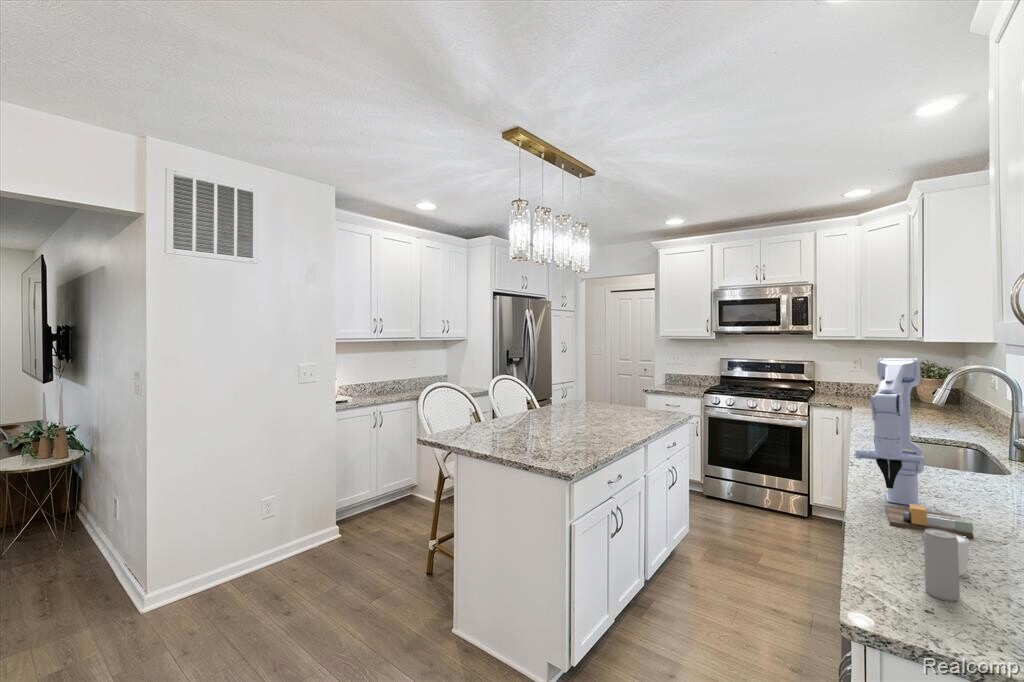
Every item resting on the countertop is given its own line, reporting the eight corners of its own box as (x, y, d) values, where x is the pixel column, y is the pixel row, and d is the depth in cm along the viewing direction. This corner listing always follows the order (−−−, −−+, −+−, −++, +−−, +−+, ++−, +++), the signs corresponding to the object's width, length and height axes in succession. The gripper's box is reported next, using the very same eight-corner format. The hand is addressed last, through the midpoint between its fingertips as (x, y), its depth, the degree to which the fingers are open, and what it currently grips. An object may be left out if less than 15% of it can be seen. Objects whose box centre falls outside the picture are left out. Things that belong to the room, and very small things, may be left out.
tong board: (885, 508, 135) (884, 497, 135) (960, 519, 126) (960, 507, 126) (889, 525, 123) (889, 512, 123) (973, 538, 113) (973, 524, 114)
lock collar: (909, 518, 124) (909, 503, 124) (924, 520, 122) (923, 505, 122) (911, 523, 120) (911, 508, 121) (927, 525, 119) (926, 510, 119)
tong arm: (912, 519, 123) (912, 511, 123) (963, 525, 118) (963, 518, 118) (913, 520, 122) (913, 513, 122) (965, 527, 117) (964, 519, 117)
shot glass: (928, 558, 103) (926, 527, 104) (971, 568, 99) (969, 535, 99) (925, 569, 99) (924, 536, 99) (970, 580, 94) (969, 545, 94)
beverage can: (966, 603, 85) (964, 539, 85) (936, 601, 86) (934, 537, 86) (948, 590, 90) (945, 529, 90) (919, 588, 91) (917, 527, 91)
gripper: (855, 437, 126) (856, 486, 126) (925, 442, 118) (927, 495, 118) (854, 433, 132) (856, 480, 132) (921, 438, 124) (923, 488, 124)
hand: (889, 487), depth 125 cm, fingers closed
